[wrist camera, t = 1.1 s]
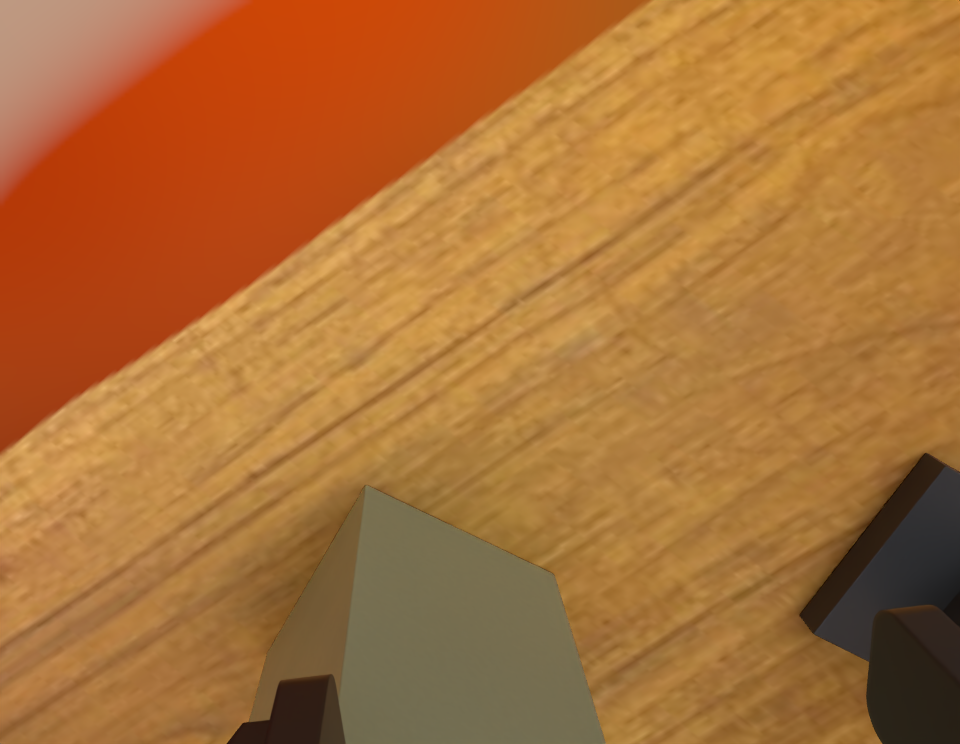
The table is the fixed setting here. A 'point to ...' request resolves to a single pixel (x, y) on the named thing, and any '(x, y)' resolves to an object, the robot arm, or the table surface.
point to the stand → (896, 561)
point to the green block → (433, 637)
